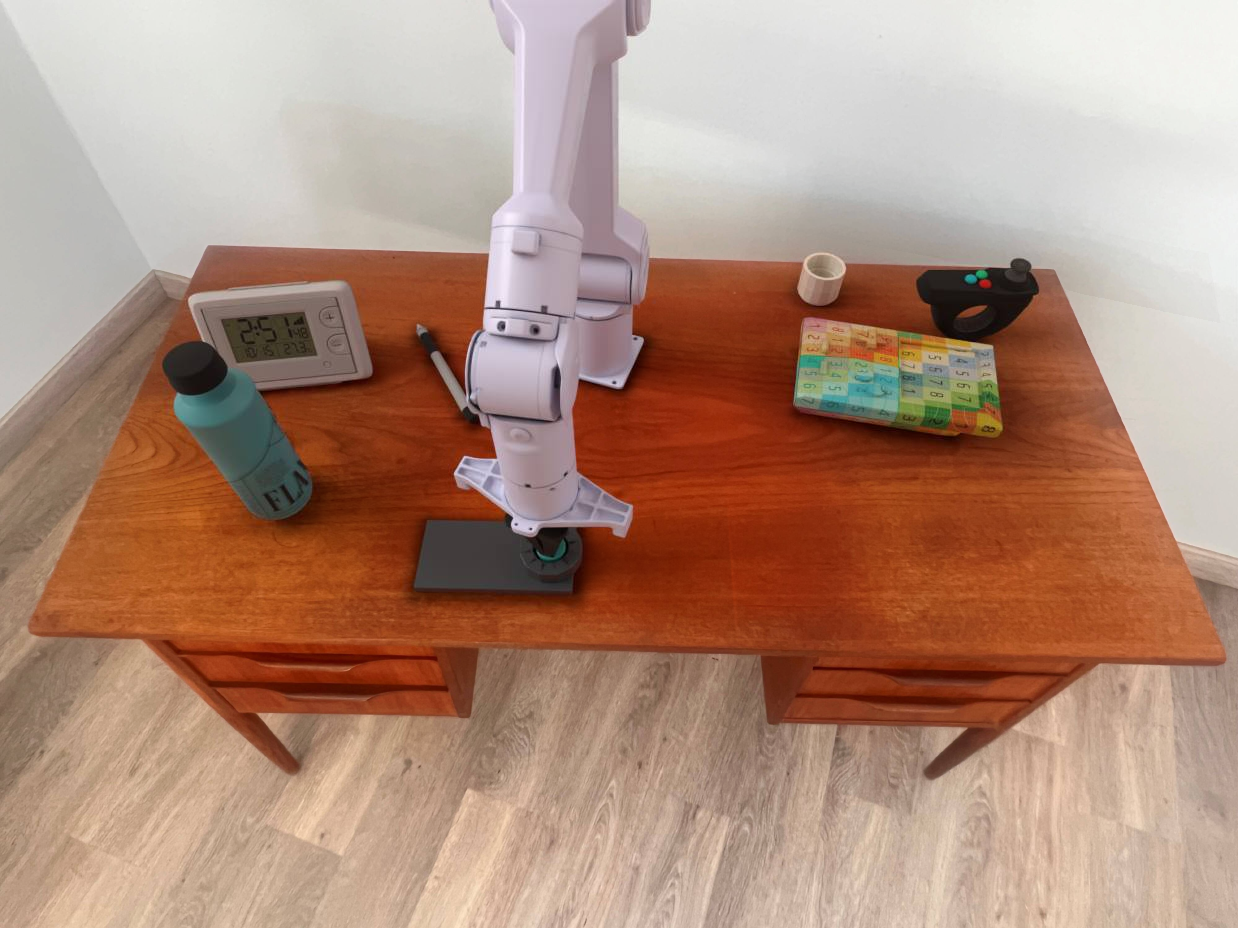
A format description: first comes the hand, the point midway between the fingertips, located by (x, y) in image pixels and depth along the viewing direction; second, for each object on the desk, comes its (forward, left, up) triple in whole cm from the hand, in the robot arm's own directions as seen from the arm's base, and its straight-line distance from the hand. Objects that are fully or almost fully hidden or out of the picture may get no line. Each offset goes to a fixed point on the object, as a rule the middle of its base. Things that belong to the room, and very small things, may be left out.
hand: (550, 546), depth 66 cm
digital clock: (-35, +12, -3) cm, 37 cm away
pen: (-20, +17, -3) cm, 26 cm away
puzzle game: (+26, +30, -3) cm, 40 cm away
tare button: (0, 0, -1) cm, 1 cm away
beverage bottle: (-27, -3, -3) cm, 27 cm away
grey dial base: (-5, -1, -3) cm, 6 cm away
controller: (+32, +42, -3) cm, 53 cm away
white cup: (+16, +44, -3) cm, 47 cm away
